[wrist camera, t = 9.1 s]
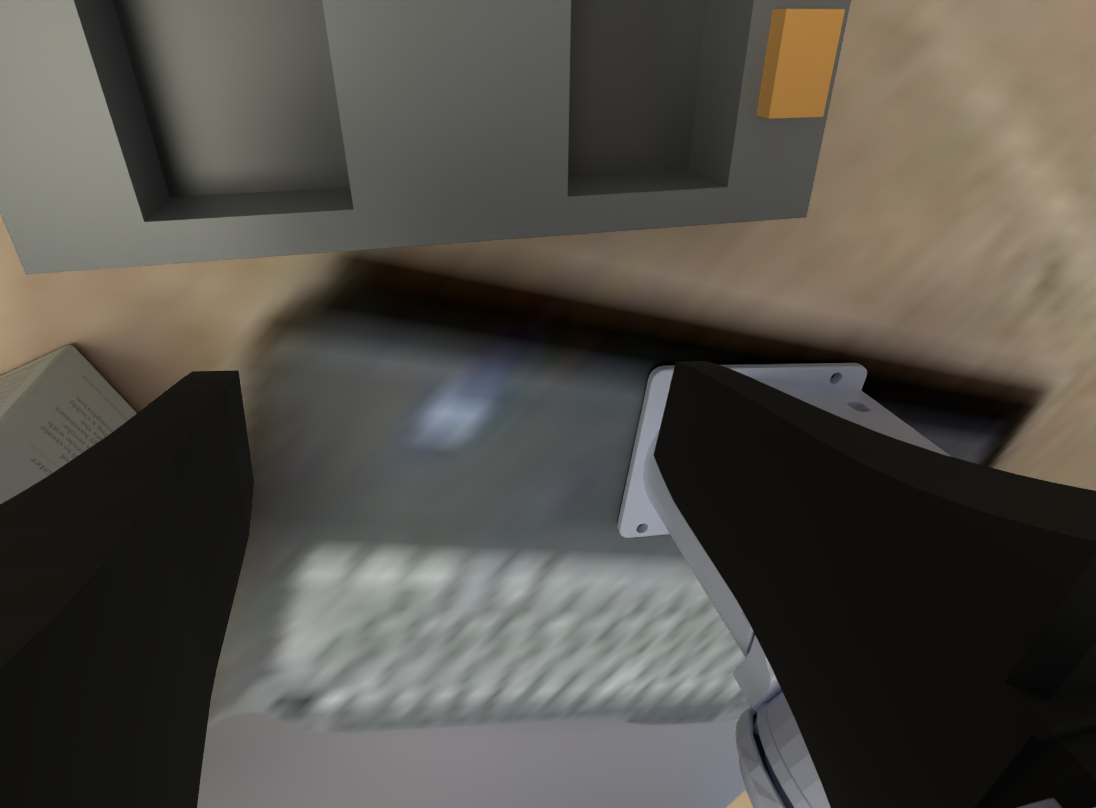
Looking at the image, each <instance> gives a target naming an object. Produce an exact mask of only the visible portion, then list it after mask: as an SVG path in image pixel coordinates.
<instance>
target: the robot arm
mask: <svg viewBox="0 0 1096 808" xmlns="http://www.w3.org/2000/svg"><path fill="white" fill-rule="evenodd" d="M835 373H836V374H835ZM833 374H835V375H834V377H832V375H833ZM866 376H867V370H866V369H865V368H864V367H863V366H862V365H860V364H858V363H814V364H746V365H718V364H715V363H711V362H708V361H682V362H676V363H675V366H660V367H657V368H655V369H654V370H653V371H652V372H651V373H650V375H649V378H648V383H647V387H646V392H645V397H644V401H643V406H642V411H641V416H640V420H639V425H638V430H637V434H636V439H635V444H634V449H633V453H632V458H631V463H630V467H629V472H628V477H627V482H626V486H625V491H624V496H623V501H622V505H621V510H620V515H619V519H618V524H617V528H618V530H619V532H620V534H621V536H623V537H626V538H631V537H642V536H652V535H663V534H670V535H671V537H672V538H673V540H674V542H675V543H676V545H677V546H678V548H679V550H680V551H681V553H682V555H683V556H684V558H685V559H686V561H687V563H688V564H689V566H690V568H691V569H692V571H693V573H694V574H695V576H696V577H697V579H698V581H699V582H700V584H701V586H702V587H703V589H704V590H705V592H706V594H707V595H708V597H709V599H710V600H711V602H712V603H713V605H714V607H715V608H716V610H717V612H718V613H719V615H720V617H721V618H722V620H723V621H724V623H725V625H726V626H727V628H728V630H729V631H730V633H731V634H732V636H733V638H734V639H735V641H736V643H737V644H738V646H739V648H740V649H741V651H742V652H743V654H744V656H745V657H746V658H745V660H744V661H743V662H742V664H741V665H740V666H739V667H738V668H737V669H736V670H735V671H734V672H733V676H734V677H735V679H736V681H737V683H738V684H739V686H740V688H741V689H742V691H743V693H744V695H745V696H746V698H747V700H748V702H749V703H750V705H751V707H750V708H748V709H747V710H746V711H745V712H744V713H742V714H741V716H740V718H739V720H738V722H737V726H736V742H737V750H738V754H739V765H740V771H741V775H742V778H743V782H744V785H745V788H746V791H747V793H748V796H749V798H750V801H751V803H752V805H753V807H754V808H1096V491H1093V490H1088V489H1082V488H1077V487H1072V486H1067V485H1062V484H1057V483H1052V482H1048V481H1043V480H1039V479H1034V478H1030V477H1026V476H1021V475H1017V474H1013V473H1009V472H1005V471H1001V470H998V469H994V468H990V467H986V466H982V465H979V464H975V463H971V462H967V461H964V460H960V459H957V458H954V457H951V456H950V455H949V454H947V453H946V452H944V451H943V450H942V449H940V448H939V447H938V446H936V445H935V444H934V443H932V442H931V441H929V440H928V439H927V438H925V437H924V436H923V435H921V434H920V433H919V432H917V431H916V430H914V429H913V428H912V427H910V426H909V425H908V424H906V423H905V422H904V421H902V420H901V419H900V418H898V417H897V416H895V415H894V414H893V413H891V412H890V411H889V410H887V409H886V408H885V407H883V406H882V405H880V404H879V403H878V402H876V401H875V400H874V399H872V398H871V397H870V396H868V395H867V394H865V393H864V392H863V391H861V389H862V387H863V384H864V382H865V379H866ZM831 377H832V378H831ZM830 378H831V379H830ZM670 382H671V383H670ZM253 485H254V480H253V473H252V466H251V459H250V451H249V444H248V437H247V430H246V423H245V415H244V408H243V401H242V394H241V387H240V379H239V372H238V371H198V372H191V373H190V374H188V375H187V376H185V377H184V378H182V379H181V380H180V381H178V382H177V383H176V384H175V385H173V386H172V387H171V388H169V389H168V390H167V391H166V392H164V393H163V394H162V395H160V396H159V397H158V398H157V399H155V400H154V401H153V402H152V403H150V404H149V405H148V406H146V407H145V408H144V409H142V410H141V411H140V412H138V413H137V414H136V415H135V416H133V417H132V418H131V419H129V420H128V421H127V422H125V423H124V424H123V425H121V426H120V427H119V428H117V429H116V430H115V431H113V432H112V433H111V434H109V435H108V436H107V437H105V438H104V439H102V440H101V441H99V442H98V443H96V444H95V445H93V446H92V447H90V448H89V449H87V450H86V451H84V452H83V453H81V454H80V455H78V456H77V457H75V458H74V459H73V460H71V461H70V462H68V463H67V464H65V465H64V466H62V467H61V468H59V469H58V470H56V471H55V472H53V473H52V474H50V475H49V476H47V477H46V478H44V479H42V480H41V481H39V482H37V483H36V484H34V485H33V486H31V487H29V488H28V489H26V490H24V491H22V492H21V493H19V494H17V495H16V496H14V497H12V498H11V499H9V500H7V501H5V502H3V503H2V504H0V808H197V802H198V794H199V785H200V777H201V768H202V761H203V753H204V746H205V738H206V730H207V723H208V715H209V707H210V700H211V695H212V689H213V684H214V679H215V674H216V669H217V665H218V661H219V657H220V653H221V649H222V644H223V640H224V636H225V632H226V628H227V624H228V620H229V616H230V612H231V608H232V604H233V600H234V596H235V592H236V588H237V584H238V579H239V575H240V571H241V567H242V563H243V559H244V554H245V550H246V546H247V541H248V537H249V527H250V518H251V508H252V496H253ZM643 523H644V524H643ZM640 524H643V525H642V526H640V527H638V526H639V525H640Z"/></svg>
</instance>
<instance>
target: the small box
mask: <svg viewBox="0 0 1096 808" xmlns="http://www.w3.org/2000/svg"><path fill="white" fill-rule="evenodd" d="M136 414H137V413H136V412H135V411H134V410H133V409H132V408H131V406H130V405H129V404H128V403H127V402H126V401H125V400H124V399H123V398H122V397H121V396H120V395H119V394H118V393H117V392H116V391H115V390H114V389H113V388H112V387H111V385H110V384H109V383H108V382H107V381H106V380H105V379H104V378H103V377H102V376H101V375H100V374H99V373H98V371H97V370H96V369H95V368H94V367H93V366H92V365H91V364H90V363H89V362H88V361H87V360H86V359H85V358H84V357H83V356H82V355H81V354H80V352H79V351H78V350H77V349H76V348H75V347H73V346H72V345H67V346H64V347H62V348H60V349H58V350H56V351H54V352H52V353H50V354H47V355H45V356H43V357H41V358H38V359H36V360H34V361H32V362H30V363H28V364H26V365H23V366H21V367H19V368H16V369H14V370H12V371H10V372H8V373H6V374H4V375H2V376H0V504H2V503H3V502H5V501H7V500H9V499H11V498H12V497H14V496H16V495H17V494H19V493H21V492H22V491H24V490H26V489H28V488H29V487H31V486H33V485H34V484H36V483H37V482H39V481H41V480H42V479H44V478H46V477H47V476H49V475H50V474H52V473H53V472H55V471H56V470H58V469H59V468H61V467H62V466H64V465H65V464H67V463H68V462H70V461H71V460H73V459H74V458H75V457H77V456H78V455H80V454H81V453H83V452H84V451H86V450H87V449H89V448H90V447H92V446H93V445H95V444H96V443H98V442H99V441H101V440H102V439H104V438H105V437H107V436H108V435H109V434H111V433H112V432H113V431H115V430H116V429H117V428H119V427H120V426H121V425H123V424H124V423H125V422H127V421H128V420H129V419H131V418H132V417H133V416H135V415H136Z"/></svg>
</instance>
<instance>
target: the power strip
mask: <svg viewBox="0 0 1096 808" xmlns="http://www.w3.org/2000/svg"><path fill="white" fill-rule="evenodd" d="M850 2H851V0H0V214H1V217H2V219H3V221H4V224H5V226H6V228H7V231H8V233H9V235H10V238H11V240H12V242H13V245H14V247H15V249H16V251H17V254H18V256H19V258H20V261H21V263H22V265H23V268H24V270H25V272H26V274H39V273H53V272H67V271H80V270H94V269H107V268H121V267H135V266H148V265H162V264H176V263H189V262H203V261H217V260H230V259H244V258H257V257H271V256H285V255H298V254H312V253H326V252H339V251H353V250H367V249H380V248H394V247H408V246H421V245H435V244H448V243H462V242H476V241H489V240H503V239H517V238H530V237H544V236H558V235H571V234H585V233H598V232H612V231H626V230H639V229H653V228H667V227H680V226H694V225H708V224H721V223H735V222H748V221H762V220H776V219H789V218H803V217H806V215H807V210H808V206H809V201H810V196H811V191H812V186H813V181H814V177H815V172H816V167H817V162H818V157H819V152H820V147H821V143H822V138H823V133H824V128H825V123H826V118H827V113H828V109H829V104H830V99H831V94H832V89H833V84H834V80H835V75H836V70H837V65H838V60H839V55H840V50H841V46H842V41H843V36H844V31H845V26H846V21H847V17H848V12H849V7H850Z"/></svg>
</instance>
